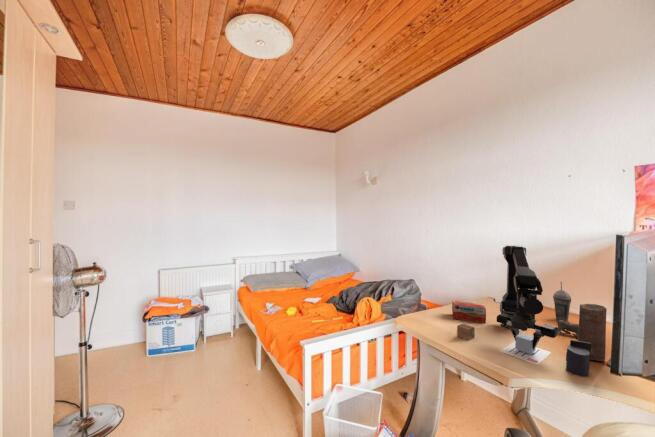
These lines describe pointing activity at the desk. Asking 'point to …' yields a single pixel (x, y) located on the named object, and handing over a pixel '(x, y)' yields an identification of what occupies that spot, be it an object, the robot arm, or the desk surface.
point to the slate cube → (524, 343)
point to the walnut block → (465, 331)
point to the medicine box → (469, 311)
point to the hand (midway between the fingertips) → (525, 346)
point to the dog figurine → (567, 327)
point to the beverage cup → (562, 304)
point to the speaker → (578, 358)
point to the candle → (593, 329)
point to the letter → (526, 354)
